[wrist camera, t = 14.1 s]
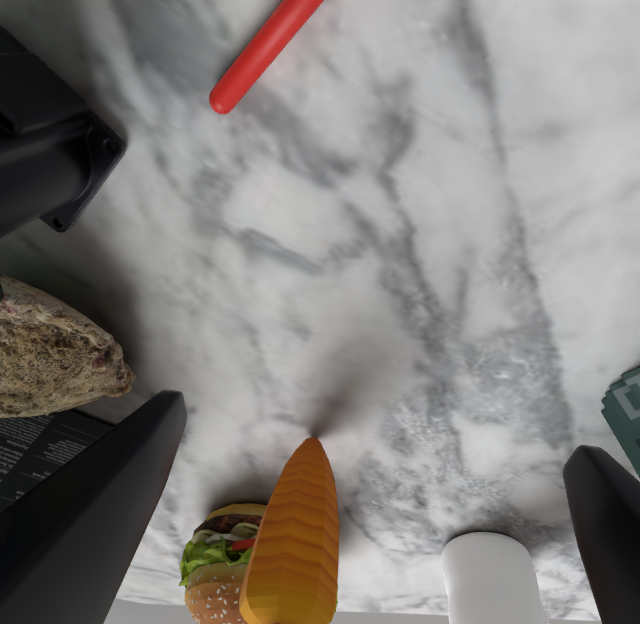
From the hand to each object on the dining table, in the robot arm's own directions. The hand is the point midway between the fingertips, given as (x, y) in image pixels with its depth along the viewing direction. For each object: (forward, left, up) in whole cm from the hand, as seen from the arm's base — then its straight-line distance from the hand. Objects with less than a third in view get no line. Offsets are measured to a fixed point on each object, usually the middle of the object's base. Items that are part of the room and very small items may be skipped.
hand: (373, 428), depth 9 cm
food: (-26, -18, -12) cm, 34 cm away
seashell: (-19, +7, -12) cm, 24 cm away
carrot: (-13, -10, -12) cm, 20 cm away
